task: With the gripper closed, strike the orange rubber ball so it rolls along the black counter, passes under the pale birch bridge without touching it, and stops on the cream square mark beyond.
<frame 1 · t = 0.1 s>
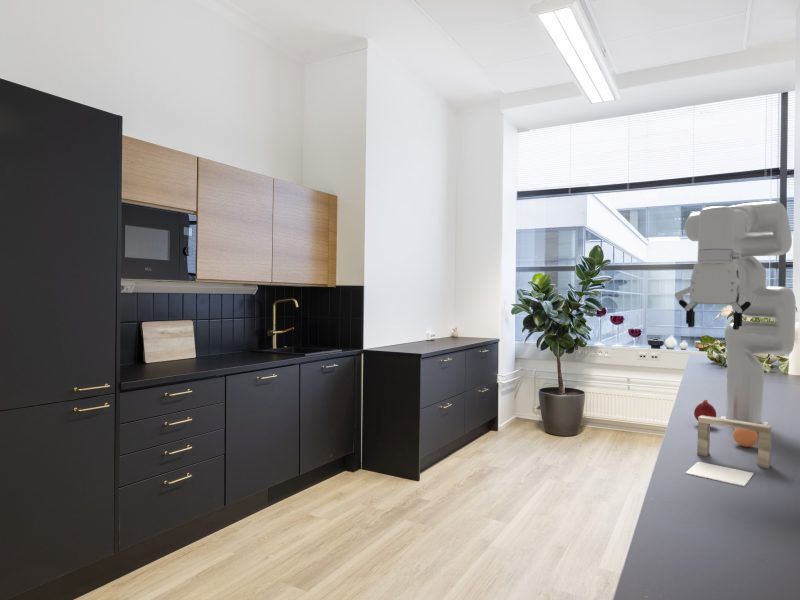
hand: (713, 328, 130), 31 cm above the countertop, tool pointing down, fingers open, 9 cm apart
ball: (745, 435, 139), on the countertop
onion: (704, 426, 160), on the countertop
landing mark: (719, 473, 116), on the countertop
bridge: (732, 459, 127), on the countertop
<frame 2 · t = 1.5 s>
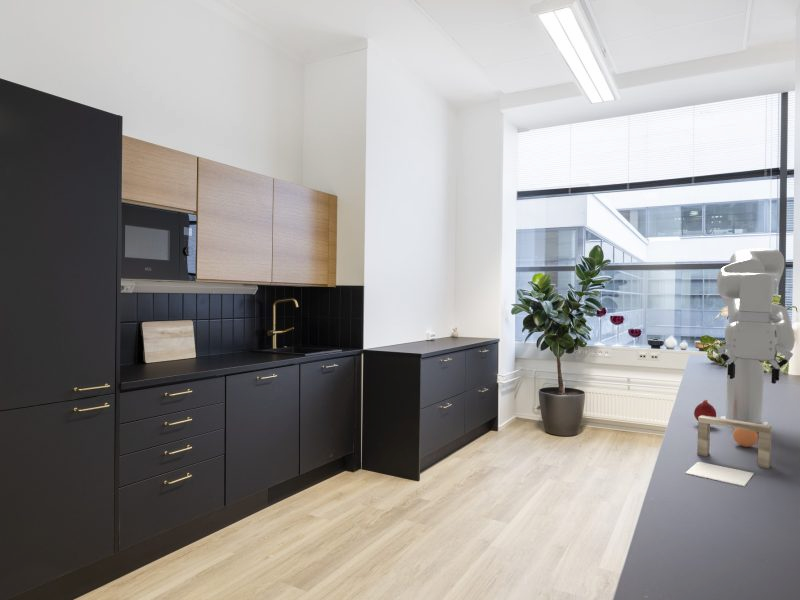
hand: (752, 380, 146), 16 cm above the countertop, tool pointing down, fingers open, 9 cm apart
nothing on the countertop moved.
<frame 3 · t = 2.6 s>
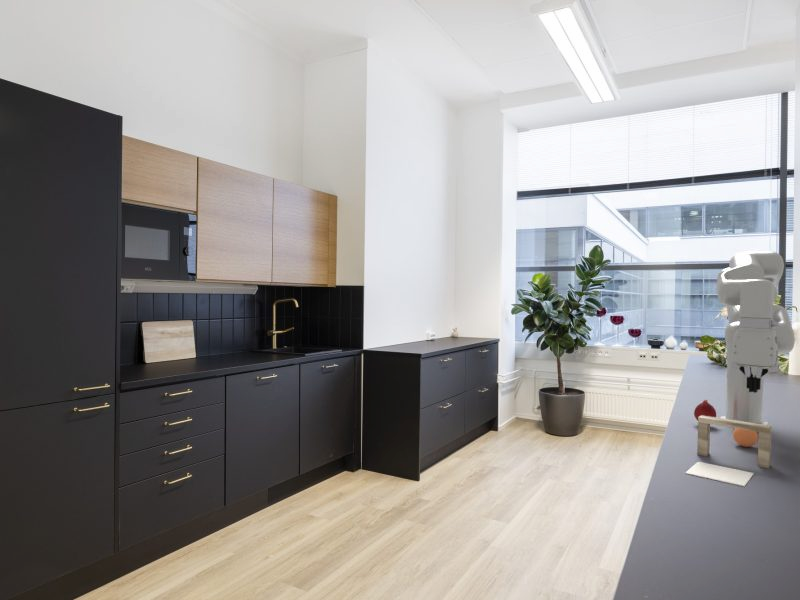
hand: (753, 391, 145), 13 cm above the countertop, tool pointing down, fingers closed
nothing on the countertop moved.
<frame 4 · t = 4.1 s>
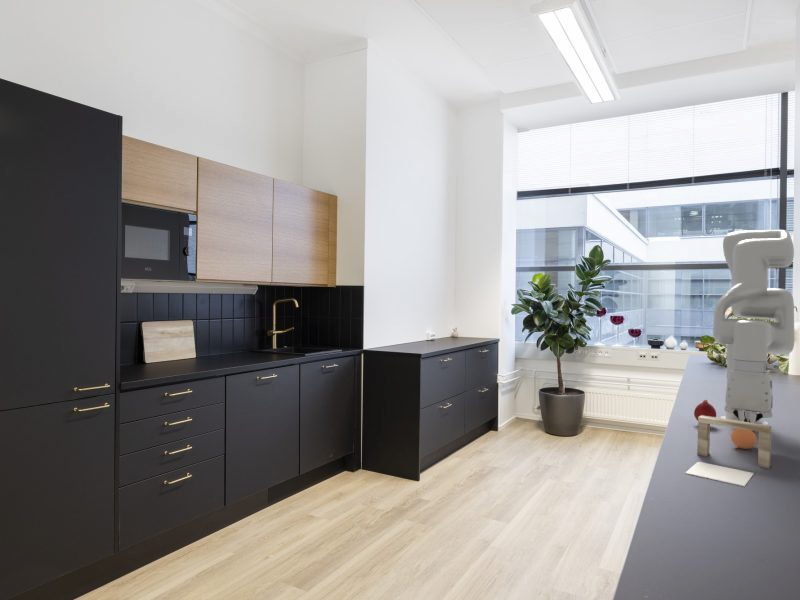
hand: (747, 436, 140), 2 cm above the countertop, tool pointing down, fingers closed
ball: (743, 437, 137), on the countertop
everything else where it was.
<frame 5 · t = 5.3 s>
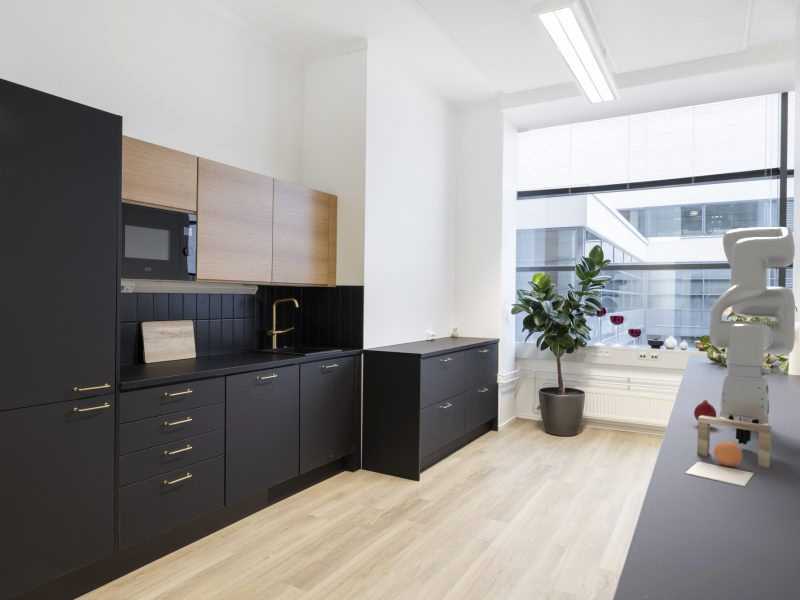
hand: (743, 442, 136), 2 cm above the countertop, tool pointing down, fingers closed
ball: (728, 453, 122), on the countertop
everything else where it was.
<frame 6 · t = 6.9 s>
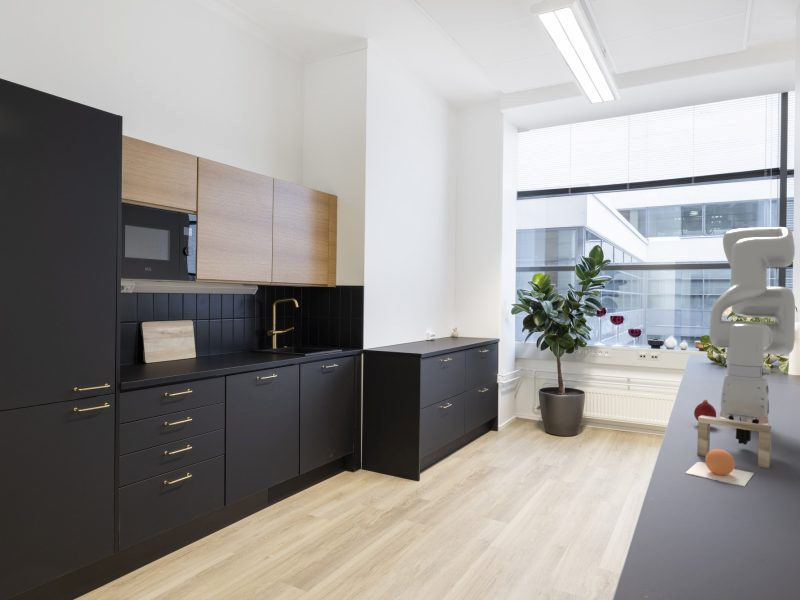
hand: (743, 442, 136), 2 cm above the countertop, tool pointing down, fingers closed
ball: (719, 462, 116), on the countertop
everything else where it was.
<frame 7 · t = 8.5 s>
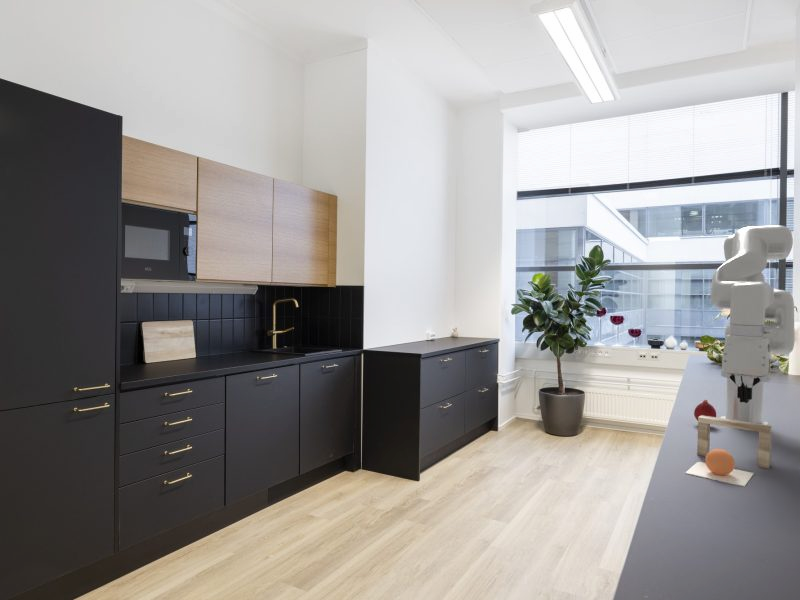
hand: (744, 401, 137), 12 cm above the countertop, tool pointing down, fingers closed
nothing on the countertop moved.
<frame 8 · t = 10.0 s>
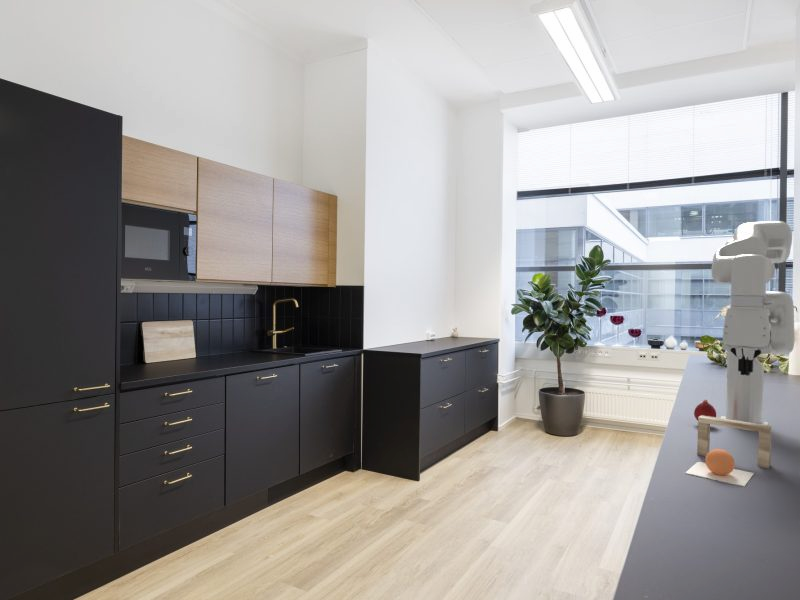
hand: (745, 374, 136), 19 cm above the countertop, tool pointing down, fingers closed
nothing on the countertop moved.
at the end: ball 0.7 cm from the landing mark (horizontally); ball never touched bridge; ball at rest at the end (0.0 cm/s) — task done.
